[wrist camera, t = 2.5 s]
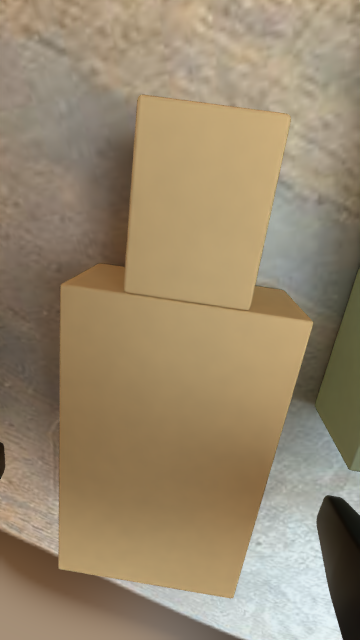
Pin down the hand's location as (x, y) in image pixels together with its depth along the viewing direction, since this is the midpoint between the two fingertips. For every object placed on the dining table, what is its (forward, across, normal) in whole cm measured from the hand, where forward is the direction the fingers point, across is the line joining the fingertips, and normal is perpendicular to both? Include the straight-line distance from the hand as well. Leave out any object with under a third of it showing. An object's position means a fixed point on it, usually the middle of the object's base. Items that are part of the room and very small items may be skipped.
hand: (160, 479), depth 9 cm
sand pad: (+3, 0, -2) cm, 4 cm away
